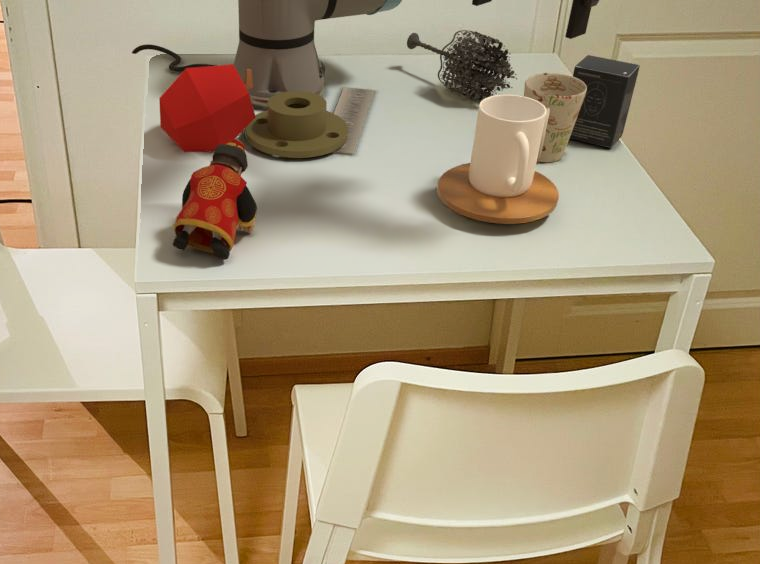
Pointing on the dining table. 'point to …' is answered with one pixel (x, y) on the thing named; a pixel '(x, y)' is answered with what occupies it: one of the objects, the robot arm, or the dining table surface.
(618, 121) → the box
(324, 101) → the flange
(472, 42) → the massage brush
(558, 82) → the mug
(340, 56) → the dining table surface
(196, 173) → the figurine
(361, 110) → the nameplate
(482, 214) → the wooden disc with post
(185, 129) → the red faceted polyhedron
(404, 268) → the dining table surface
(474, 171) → the cup
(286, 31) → the robot arm
